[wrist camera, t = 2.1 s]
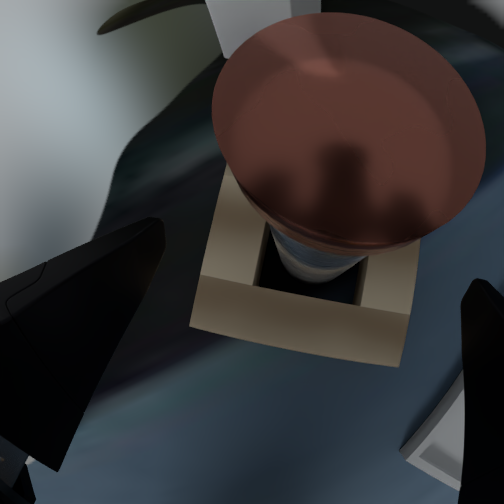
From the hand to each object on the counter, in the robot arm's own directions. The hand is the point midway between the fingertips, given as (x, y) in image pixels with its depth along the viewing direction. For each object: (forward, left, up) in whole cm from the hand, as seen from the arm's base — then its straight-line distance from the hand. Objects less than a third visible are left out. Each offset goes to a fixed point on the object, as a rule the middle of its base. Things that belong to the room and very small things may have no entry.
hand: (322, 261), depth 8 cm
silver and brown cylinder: (+2, +1, -10) cm, 10 cm away
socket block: (+2, +1, -10) cm, 10 cm away
